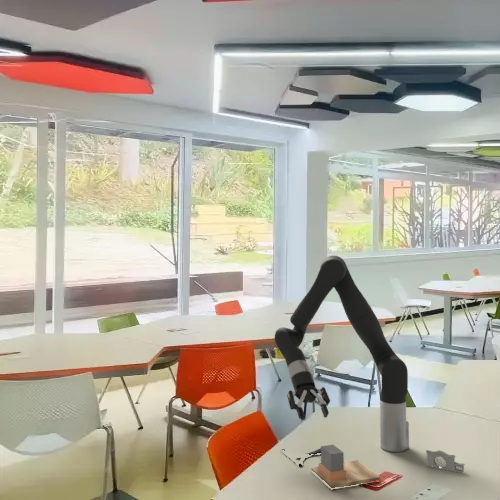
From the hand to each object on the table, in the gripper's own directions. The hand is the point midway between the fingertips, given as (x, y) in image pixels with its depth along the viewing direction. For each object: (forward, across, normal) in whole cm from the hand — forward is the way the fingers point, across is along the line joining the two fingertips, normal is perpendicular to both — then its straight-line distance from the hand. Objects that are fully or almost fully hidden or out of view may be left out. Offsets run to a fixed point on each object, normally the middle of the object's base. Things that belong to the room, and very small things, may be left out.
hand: (314, 417), depth 186 cm
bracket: (+6, +1, +18) cm, 19 cm away
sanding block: (+19, 0, +2) cm, 19 cm away
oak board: (+20, +5, +3) cm, 21 cm away
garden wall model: (+24, +38, -2) cm, 45 cm away
